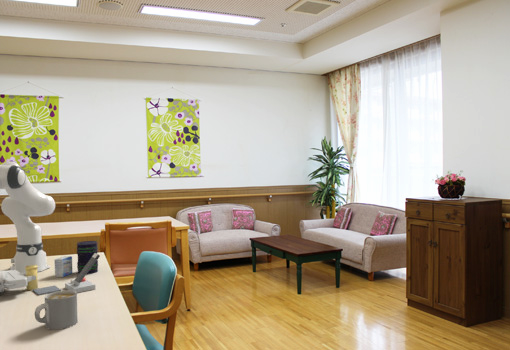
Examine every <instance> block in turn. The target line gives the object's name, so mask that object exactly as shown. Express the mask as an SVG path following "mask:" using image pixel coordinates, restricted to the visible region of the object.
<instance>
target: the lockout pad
mask: <svg viewBox="0 0 510 350" xmlns="http://www.w3.org/2000/svg"><path fill="white" fill-rule="evenodd" d="M32 291H33V292H34V293H35V294H36V295H37V296H42V295H47V294H50V293H53V292H57V291H62V289H61V288H59V287H58V286H57V285H49V286H45V287H38V289H33V290H32Z"/></svg>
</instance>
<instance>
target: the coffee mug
mask: <svg viewBox="0 0 510 350" xmlns="http://www.w3.org/2000/svg"><path fill="white" fill-rule="evenodd" d="M42 310H44V316H43V317H41V315H40V314H41V311H42ZM34 319H35V320H36V322H38V323H41V324H45V326H44V327H45V328H46V329H47V328H49V329H48V330H53V329H56V330H62V329H61V328H64V329H68V328H71V327H74V326H75V325H77V324H76V323H78V321H79V319H78V293H77V292H75V291H70V290H61V291H57V292H53V293H48V294H45V296H44V303H41V304H39V305H38V306H36V308H35V311H34ZM73 325H74V326H73ZM70 326H71V327H70ZM67 327H68V328H67Z"/></svg>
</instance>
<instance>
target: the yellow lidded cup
mask: <svg viewBox="0 0 510 350" xmlns="http://www.w3.org/2000/svg"><path fill="white" fill-rule="evenodd" d="M37 268H38V265H29V266H25V270H26V277H28V276H32V275H35V276H36V280H31V281H29V282H27V286H26V288H25V289H26V291H33V289H38V288H39V287H38V284H39V283H38V281H39V280H38V272H37Z"/></svg>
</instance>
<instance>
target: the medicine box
mask: <svg viewBox="0 0 510 350" xmlns="http://www.w3.org/2000/svg"><path fill="white" fill-rule="evenodd" d="M71 274H73V256H70V255H67V256H66V255H65V256H61V257H59V258H56V259H54V277H55V278H64V277H67V276H69V275H71Z"/></svg>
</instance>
